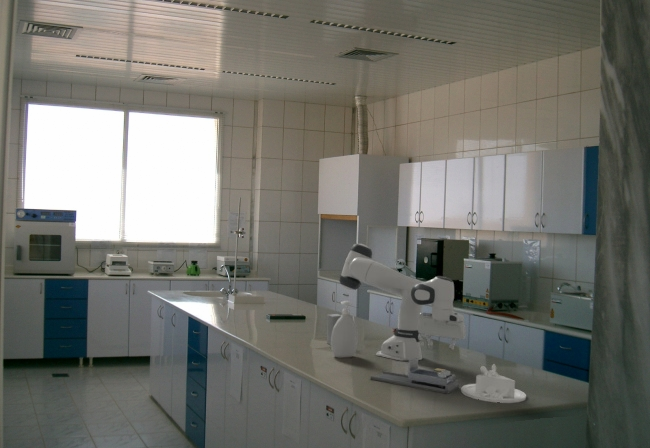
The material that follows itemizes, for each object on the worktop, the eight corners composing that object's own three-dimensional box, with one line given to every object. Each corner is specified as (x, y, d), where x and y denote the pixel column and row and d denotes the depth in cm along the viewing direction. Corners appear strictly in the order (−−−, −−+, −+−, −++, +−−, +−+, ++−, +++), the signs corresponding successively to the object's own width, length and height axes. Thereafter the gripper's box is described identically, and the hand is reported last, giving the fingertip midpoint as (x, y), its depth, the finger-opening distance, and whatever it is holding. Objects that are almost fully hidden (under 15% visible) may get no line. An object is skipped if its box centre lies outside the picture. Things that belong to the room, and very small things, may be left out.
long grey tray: (406, 383, 267) (407, 361, 267) (416, 379, 276) (417, 357, 276) (446, 390, 259) (447, 367, 258) (454, 385, 267) (455, 363, 267)
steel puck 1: (436, 380, 262) (436, 373, 262) (439, 379, 265) (439, 371, 265) (444, 382, 260) (444, 374, 260) (447, 380, 263) (447, 372, 263)
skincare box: (343, 346, 344) (345, 315, 344) (331, 346, 341) (332, 315, 341) (337, 343, 352) (339, 313, 352) (325, 343, 349) (326, 313, 349)
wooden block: (433, 380, 278) (433, 369, 278) (436, 378, 282) (437, 368, 282) (442, 382, 276) (442, 371, 276) (445, 380, 280) (446, 369, 280)
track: (370, 379, 274) (370, 372, 274) (383, 374, 285) (383, 367, 285) (448, 393, 257) (448, 386, 257) (458, 387, 267) (459, 380, 267)
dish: (448, 392, 260) (450, 364, 260) (483, 383, 278) (484, 357, 278) (504, 407, 243) (505, 376, 243) (537, 397, 260) (538, 368, 260)
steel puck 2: (440, 378, 266) (440, 371, 266) (443, 377, 269) (443, 369, 269) (448, 380, 264) (448, 372, 264) (451, 378, 267) (451, 371, 267)
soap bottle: (351, 354, 325) (354, 299, 324) (360, 357, 317) (363, 301, 317) (325, 355, 318) (328, 299, 318) (333, 359, 311) (336, 301, 311)
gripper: (416, 312, 281) (415, 345, 281) (462, 318, 271) (461, 352, 271) (422, 311, 287) (420, 343, 287) (467, 317, 276) (466, 349, 276)
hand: (440, 347), depth 279 cm, fingers open, 8 cm apart
